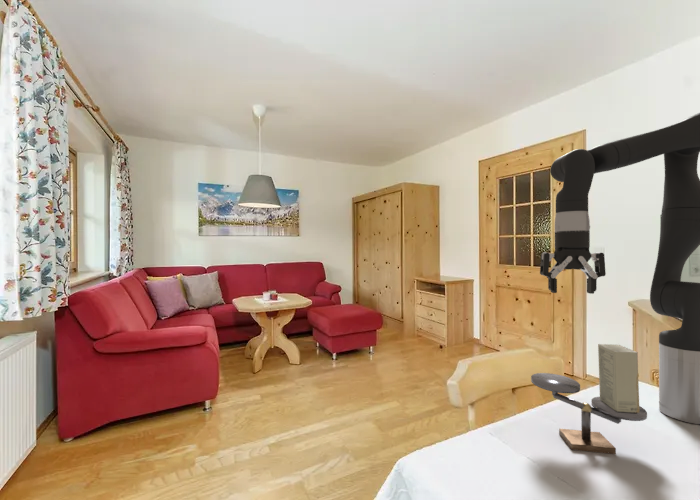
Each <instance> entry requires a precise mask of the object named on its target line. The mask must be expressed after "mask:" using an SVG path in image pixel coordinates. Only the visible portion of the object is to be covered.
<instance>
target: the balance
mask: <svg viewBox="0 0 700 500" xmlns="http://www.w3.org/2000/svg"><path fill="white" fill-rule="evenodd" d="M530 376H531V377H530V379H531V380H530V381H531V383H532V385H534V386H535V387H538V388H540V389H543V390H546V391H549V392H552V393H551V395H552V396H553V399H557V400H559V401H561V402H563V403H566V404H568V405H571V406H572V407H576V408H578V409H580V410H581V417H580V418H581V423H580V424H581V426H580V428H581V430H579V429H569V428H568V429H567V428H559V430H558V431H559V432H558V433H559V435H560V437H561V438H562V439H563V440H564V442H565V443H566V445H567V446H568V447H569V448H570V449H571V450H572V451H580V452H581V451H582V452H591V453H600V454H607V455H608V454H610V455H617V449H616V447H615V445H613V444H612V443H611V442H610V441H609V440H608V439H607V438H606V437H605V436H604V435H603V434H602V433H601V432H600V431H599V432H598V431H592V425H591V424H592V422H591V419H592V417H591V415H592V414H593V415H595V416H597V417H600V418H602V419H605V420H607V421H610V422H612V423H614V424H616V425H617V424H618V425H619V424H621V423H622V420H625V421H628V422H629V421H631V422H641V421H644V420H647V419H648V411H646V409H645V408H644V407H642V406H640V405H639V413H631V412H617V411H615V410H614V409H612V408H611V407H610V406H608V405H607V404H606V403H604V402H603V401H602V400H600V396H595V397H593V398H591V404H589V402H588V403H587V402H580V401H578V400H576V399H573V398H570V397H568V396H565V395H563V394H576V393H579V392H580V391H581V384H580V383H579V382H578V381H577V380H575V379H573V378H571V377H568V376H565V375H560V374H558V373H557V374H556V373H549V372H538V373H533V374H532V375H530Z"/></svg>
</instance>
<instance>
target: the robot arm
mask: <svg viewBox="0 0 700 500" xmlns="http://www.w3.org/2000/svg"><path fill="white" fill-rule="evenodd" d="M661 155H663V161H664V162H663V164H664V183H663V199H662V201H663V202H662V207H661V215H660V216H661V217H660V233H659V242H658V252H657V258H656V263H655V266H654V272H653V276H652V281H651V286H650V291H649V302H650V306H651V308H652V310H653V311H654V312H655V313H656V314H658V315H661V316H665V317H671V318H676V319H682V323H681V326H680V327H679V328H677V329H668V330H666V329H665V330H662V331H660V332H659V335H658V400H659V401H658V408H659V409H658V410H659V411H660V412H661V413H662V414H664V415H666V416H668V417H670V418H672V419H674V420H678V421H681V422H684V423H685V422H686V423H689V424H695V425H700V282H695V281H682V273H683V269H684V267H685V264H686V262H687V261H688V258H690V256H691V255H692V254H693V253H694V252H695V251H696V250H697V248H698V247H699V246H700V178H699V175H698V161H699V160H698V159H699V155H700V112H698V113H695V114H693V115H690V116H688V117H687V118H684V119H682V120H680V121H678V122H676V123H674V124H671V125H669V126H666V127H662V128H658V129H655V130H652V131H648V132H644V133H641V134H636V135H633V136H629V137H628V136H627V137H625V138H620V139H616V140H613V141H610V142H609V141H608V142H605V143H602V144H600V145H597V146H594V147H592V148H590V149H588V150H587V149H584V148H577V149H573V150H571V151H569V152H567V153H565V154H564V155H561V156H559V157H558V158H556V159H555V160H554V161H553V162H552V164H551V166H550V169H549V170H550V175H551V177H552V178H553V180H556V181H558V182H561V183H562V188H561V189H560V190H559V191H558V192H557V194H556V195H555V217H554V252H553V253H549V252H542V253H541V255H540V266H539V267H540V268H539V275H541V276H544V277H547V279H548V280H547V283H548V284H547V286H548V287H547V289H548V291H550V292H551V293H553V294H557V293H558V278H556V277H558V275H560V273H561V272H562V271H563V270H580V271H581V272H583V273H584V274H585V276H586V277H587V278H586V293H587V294H590V295H591V294H592V295H593V294H594V293H595V292H597V279H598V278H601V277H605V276H606V274H607V273H606V262H605V260H606V259H605V254H604V252H595V253H593V252H592V253H591V252H590V247H591V246H590V244H591V243H590V241H591V240H590V239H591V235H590V230H591V225H590V223H591V222H590V216H589V194H590V191H591V187H592V182H593V179H594V176H595V175H594V174H598V173H603V172H609V171H612V170H618V169H621V168H624V167H629V166H632V165H634V164H638V163H641V162H644V161H646V160H649V159H652V158H655V157H658V156H661ZM552 259H554V261H555V262H556V263H554V265H553V266H552V267H551V270H550V262H551V261H552ZM590 259H591V260H592V261H593V262H594V269H593V267H592V266H591V264H589V261H590Z"/></svg>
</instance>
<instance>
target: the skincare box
mask: <svg viewBox="0 0 700 500" xmlns="http://www.w3.org/2000/svg"><path fill="white" fill-rule="evenodd" d="M597 351H598V352H597V353H598V354H597V355H598V377H599V378H598V380H599V381H598V382H599V385H598V386H599V397H600V400H602V401H603V402H604V403H606V404H607V405H608V406H610V407H611V408H612V409H614V410H615V411H617V412H631V413H639V406H640V391H639V389H640V387H639V359H638V358H639V357H638V351H635V350H632V349H630V348H628V347H626V346H623V345H621V344H608V343H607V344H606V343H603V344H602V343H598V346H597Z"/></svg>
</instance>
